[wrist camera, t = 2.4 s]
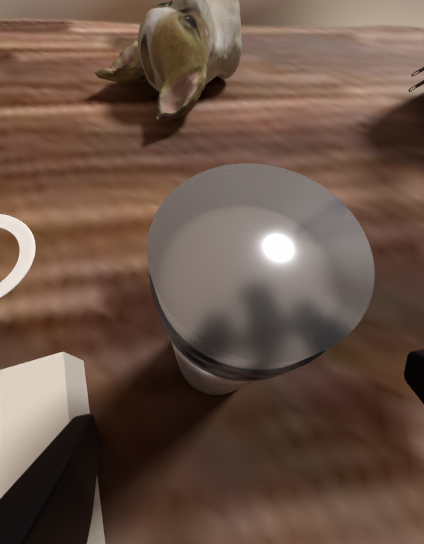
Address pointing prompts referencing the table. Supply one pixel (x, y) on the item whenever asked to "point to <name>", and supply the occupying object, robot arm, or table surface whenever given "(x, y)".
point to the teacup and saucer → (25, 254)
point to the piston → (255, 273)
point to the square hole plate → (41, 417)
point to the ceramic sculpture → (181, 52)
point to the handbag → (420, 82)
